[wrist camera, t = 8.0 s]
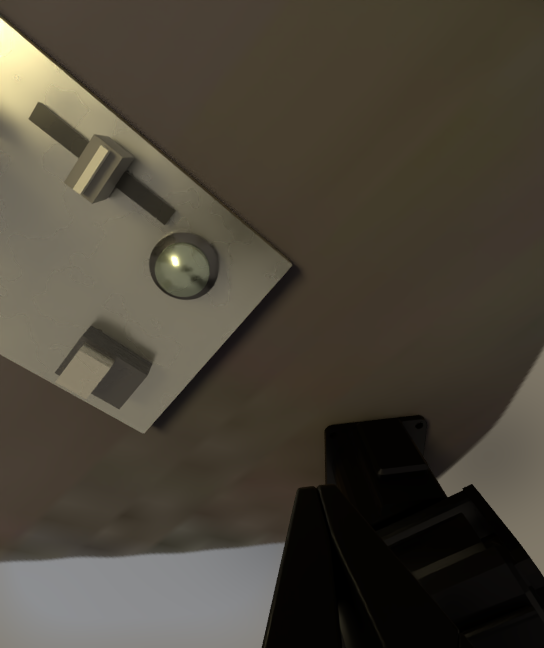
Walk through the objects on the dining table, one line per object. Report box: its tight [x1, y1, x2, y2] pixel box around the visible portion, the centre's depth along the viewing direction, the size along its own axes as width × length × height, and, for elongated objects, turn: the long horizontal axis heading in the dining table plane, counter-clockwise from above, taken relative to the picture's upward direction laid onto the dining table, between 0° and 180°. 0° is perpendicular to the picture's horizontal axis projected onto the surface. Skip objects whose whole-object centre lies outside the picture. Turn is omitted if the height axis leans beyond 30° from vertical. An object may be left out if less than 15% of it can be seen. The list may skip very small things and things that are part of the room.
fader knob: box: [64, 134, 135, 204], centre depth 15 cm, size 1×2×2 cm, turn 140°
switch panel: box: [0, 14, 292, 434], centre depth 16 cm, size 20×13×4 cm, turn 49°
